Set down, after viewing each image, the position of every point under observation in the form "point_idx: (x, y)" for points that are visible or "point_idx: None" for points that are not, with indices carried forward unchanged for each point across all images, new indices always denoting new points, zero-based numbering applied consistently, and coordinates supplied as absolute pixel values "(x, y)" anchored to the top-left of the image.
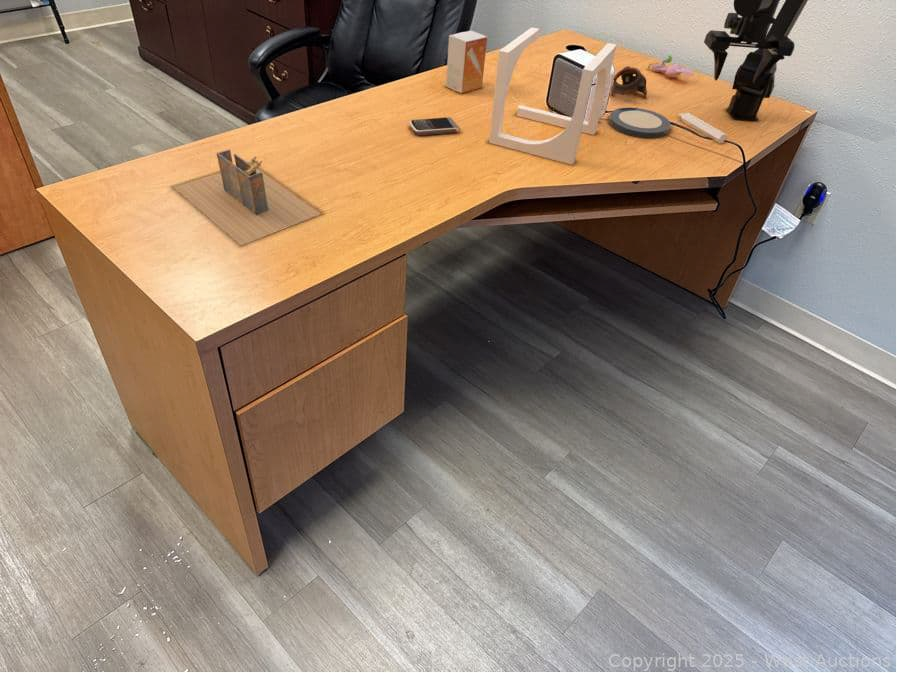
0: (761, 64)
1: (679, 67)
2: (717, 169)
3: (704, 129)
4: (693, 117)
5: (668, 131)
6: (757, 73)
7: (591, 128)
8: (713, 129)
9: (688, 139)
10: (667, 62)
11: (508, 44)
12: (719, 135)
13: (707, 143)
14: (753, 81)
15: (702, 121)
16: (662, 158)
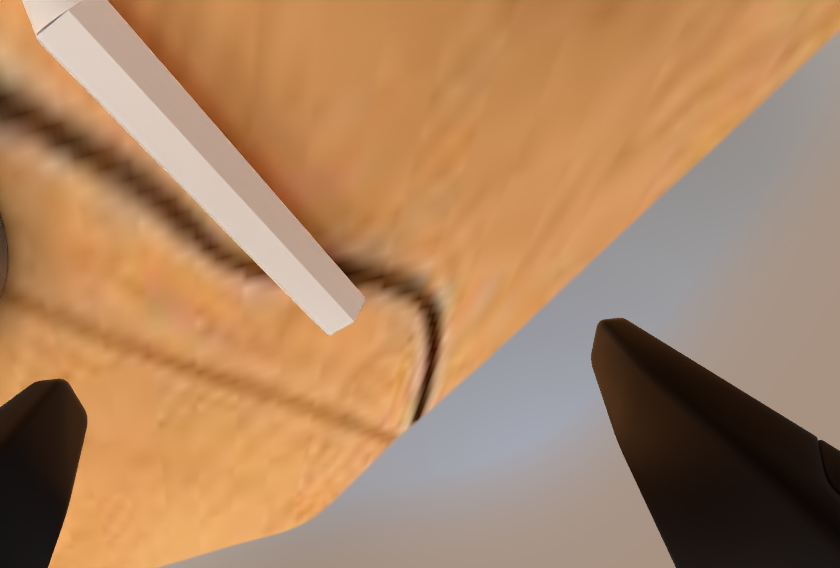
0: (766, 564)
1: None
2: (286, 505)
3: (234, 240)
4: (129, 114)
5: (2, 275)
6: (654, 449)
7: None
8: (281, 284)
9: (151, 309)
10: None
11: None
12: (317, 324)
13: (262, 325)
14: (600, 348)
15: (208, 174)
16: None
